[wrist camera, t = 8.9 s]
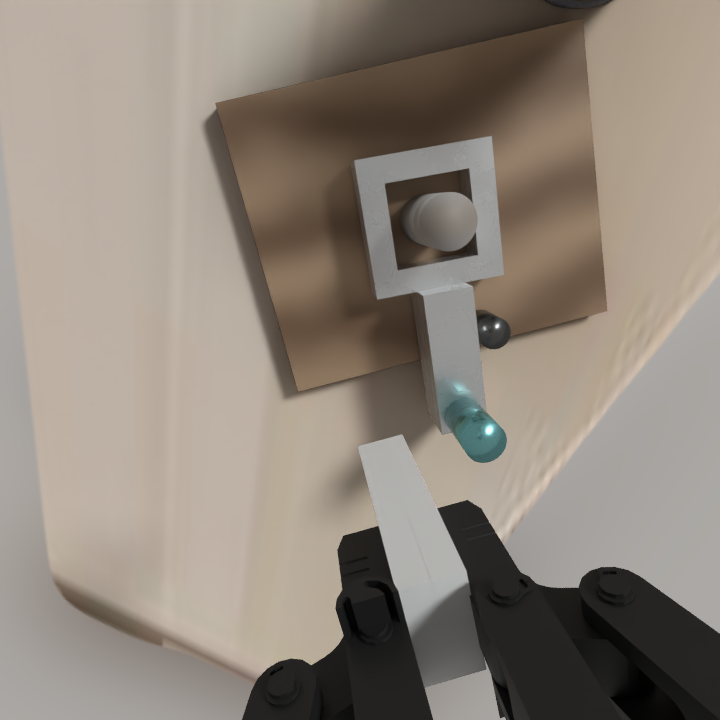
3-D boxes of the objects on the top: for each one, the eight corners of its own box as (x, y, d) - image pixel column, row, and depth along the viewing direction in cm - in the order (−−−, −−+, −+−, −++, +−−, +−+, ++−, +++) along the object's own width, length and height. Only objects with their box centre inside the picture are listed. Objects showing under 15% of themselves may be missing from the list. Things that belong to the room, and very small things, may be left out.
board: (218, 106, 31) (197, 79, 24) (572, 25, 32) (646, -23, 25) (298, 385, 36) (299, 426, 29) (597, 307, 37) (664, 329, 30)
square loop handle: (350, 163, 31) (367, 150, 24) (479, 140, 31) (534, 120, 24) (394, 423, 36) (418, 477, 29) (504, 400, 37) (555, 447, 29)
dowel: (457, 310, 36) (477, 322, 32) (485, 302, 36) (508, 314, 32) (462, 337, 37) (482, 352, 33) (489, 330, 37) (512, 344, 33)
